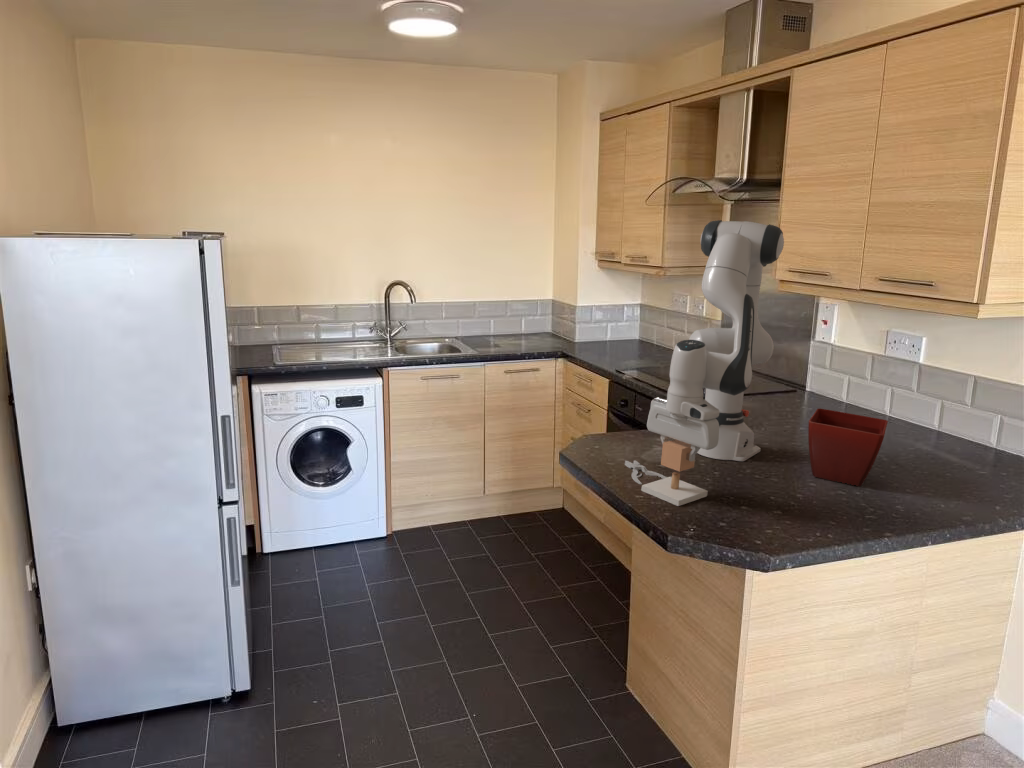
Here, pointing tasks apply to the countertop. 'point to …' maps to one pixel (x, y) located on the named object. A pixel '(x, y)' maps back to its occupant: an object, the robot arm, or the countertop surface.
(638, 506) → the countertop surface
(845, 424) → the plant pot
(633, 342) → the countertop surface
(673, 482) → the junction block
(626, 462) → the pliers
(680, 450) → the tan cardboard cube
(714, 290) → the robot arm
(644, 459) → the countertop surface
